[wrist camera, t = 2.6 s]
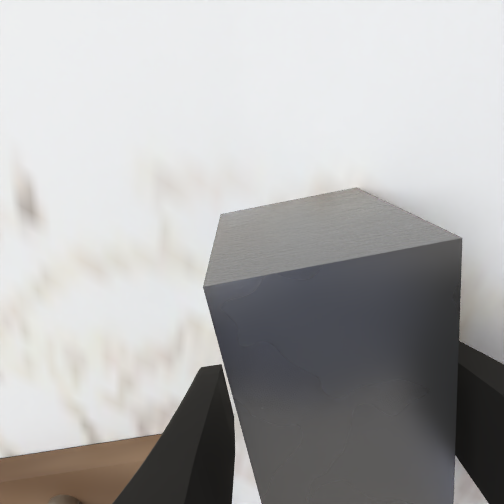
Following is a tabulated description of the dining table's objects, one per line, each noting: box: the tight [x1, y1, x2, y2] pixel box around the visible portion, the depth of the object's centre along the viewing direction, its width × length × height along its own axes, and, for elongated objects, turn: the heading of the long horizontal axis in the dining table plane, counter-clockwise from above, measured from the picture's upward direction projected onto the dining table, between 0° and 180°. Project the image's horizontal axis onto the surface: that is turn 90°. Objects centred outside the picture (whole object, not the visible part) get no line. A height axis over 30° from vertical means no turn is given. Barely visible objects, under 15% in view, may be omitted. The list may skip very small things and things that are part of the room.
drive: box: [203, 188, 462, 504], centre depth 9 cm, size 10×4×5 cm, turn 11°
